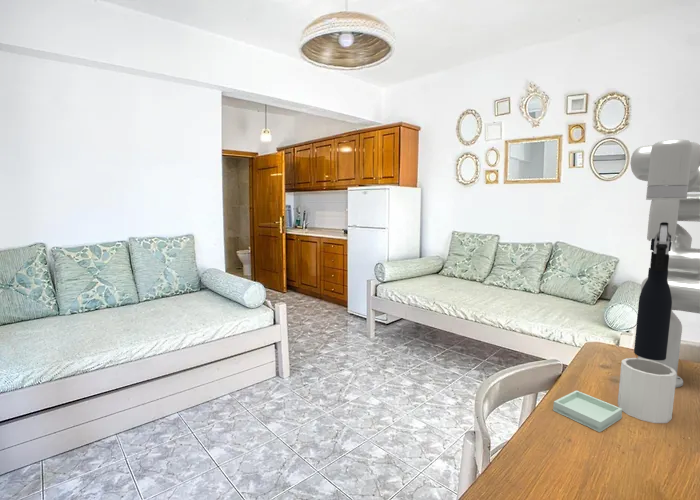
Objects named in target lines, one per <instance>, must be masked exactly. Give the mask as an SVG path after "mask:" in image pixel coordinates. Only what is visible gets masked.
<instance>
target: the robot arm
mask: <svg viewBox="0 0 700 500" xmlns="http://www.w3.org/2000/svg"><path fill="white" fill-rule="evenodd" d="M630 168H631V172H632V175H634V177H635V179H638V180H640V181H644V182H647V185H646V195H645V196H646V197H645V200H646V201H651V202H650V207H649V214H648V222H647V223H648V224H647V233H646V234H647V235H646V238H647V239H646V240H647V241H648V242H651V239H654V238H655V241H654V251H653V250H652V251H651V254H650V255H651V257H650V262H651V263H650V264H649V268H650V267H651V270H655V271H668V278H667V281H668V285H669V288H670V291H671V297H672V308H671V317H670V326H669V336H668V345H667V354H666V359H665V360H652V361H655V362H659V363H662V364H665V365H667V366H669V367H671V368H673V369H674V370H675V371H676V373H677V374H678V367H679V362H680V361H679V359H680V352H681V351H680V350H681V341H682V333H683V324H682V321H681V319H679V317H678V316H677V315H676V313H674V311H681V312H685V313H694V314H700V248H692V247H691V246H692V244H693V243H692V242H693V238H692V235H691V234H690V233H689V231H687V229H686V228H684V227H683V226H681V224H679V223H678V222H694V223H695V222H696V223H698V222H700V144H699V143H698V142H695V141H690V140H688V139H669V140H661V141H658V142H655V143H654V144H650V145H648V144H647V145H642V146H640V147H639V146H638V147H637V148H635V149H634V151H633V152H632V154H631V157H630ZM670 237H671V238H670ZM657 238H660V239H659V241H657ZM666 239H667V241H666ZM670 239H671V240H670ZM670 242H672V243H671V251H669V243H670ZM650 265H651V266H650ZM647 279H648V276H647V277H646V278H644V279H643V280H642V282H641V286H640V292H641V291H642V288H643V286H644V284H645V283H646V281H647ZM637 358H640V359H646V358H642V357H640V356H638V355H637ZM647 360H650V359H647ZM683 385H684V379H683V378H681V376H679V375H677V376H676V385H675V389H676V388H680V387H683Z"/></svg>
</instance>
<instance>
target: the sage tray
mask: <svg viewBox="0 0 700 500" xmlns="http://www.w3.org/2000/svg"><path fill="white" fill-rule="evenodd" d="M552 406H553V408H552V411H554V412H555V413H557V414H560V415H562V416H564V417H567V418H568V419H571V420H573V421H575V422H576V423H578V424H581V425H583V426H585V427H588V428H590V429H592V430H594V431H596V432H597V433H602V431H604V430H606V429H607V428H609V427H610V426H612V425H613V424H615V423H617V422H618V421H620V420H621V419H622V418H623V411H622V408H619V406H618V405H617V406H616V405H614V404H612V403H609V402H606V401H605V400H602V399H599V398H597V397H594V396H591V395H589V394H587V393H584V392H582V391H579V390H574V391H572V392H570V393H568V394H566V395H564V396H562V397H560V398H558V399H556V400H554V401H553V405H552Z"/></svg>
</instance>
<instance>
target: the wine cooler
mask: <svg viewBox="0 0 700 500" xmlns="http://www.w3.org/2000/svg"><path fill="white" fill-rule="evenodd" d="M676 376H678V372H677V373H676V371H675V370H674V369H673V368H671V367H669V366H667V365H665V364H662V363H659V362H655V361H652V360H647V359H640V358H638V357H626V358H624V359H622V360H621V365H620V375H619V385H618V395H617V407H619V408H622V413H625V414H626V415H628V416H630V417H632V418H635V419H638V420H641V421H644V422H648V423H653V424H668V423H669V422H670V421H671V420H672V418H673V410H674V401H675V392H676V388H675V385H676Z"/></svg>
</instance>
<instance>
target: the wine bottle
mask: <svg viewBox="0 0 700 500" xmlns="http://www.w3.org/2000/svg"><path fill="white" fill-rule="evenodd" d="M670 238H671V237H670ZM659 239H660V238H657V241H659ZM670 240H671V239H670ZM654 241H655V238H654V239H651V241H650V248H649V249H650V251H652V252H653V251H654ZM666 241H667V239H666ZM671 243H672V242H670V243H669V251H671ZM650 263H651V261H650ZM650 266H651V265H650V264H649V268H648V275H647V277H648V279H647V281H646V283H645V284H644V286H643V288H642V291H641V290H640V294H639V297H638V307H637V319H636V328H635V336H634V338H635V339H634V346H633V347H634V348H633V349H634V350H633V353H634V354H635V355H636V356H637V357H638V356H640V357H642V358H646V359H650V360H665V359H666V354H667V345H668V336H669V326H670V317H671V308H672V297H671V291H670V288H669V285H668V281H667V278H668V271H655V270H651V267H650Z"/></svg>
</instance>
